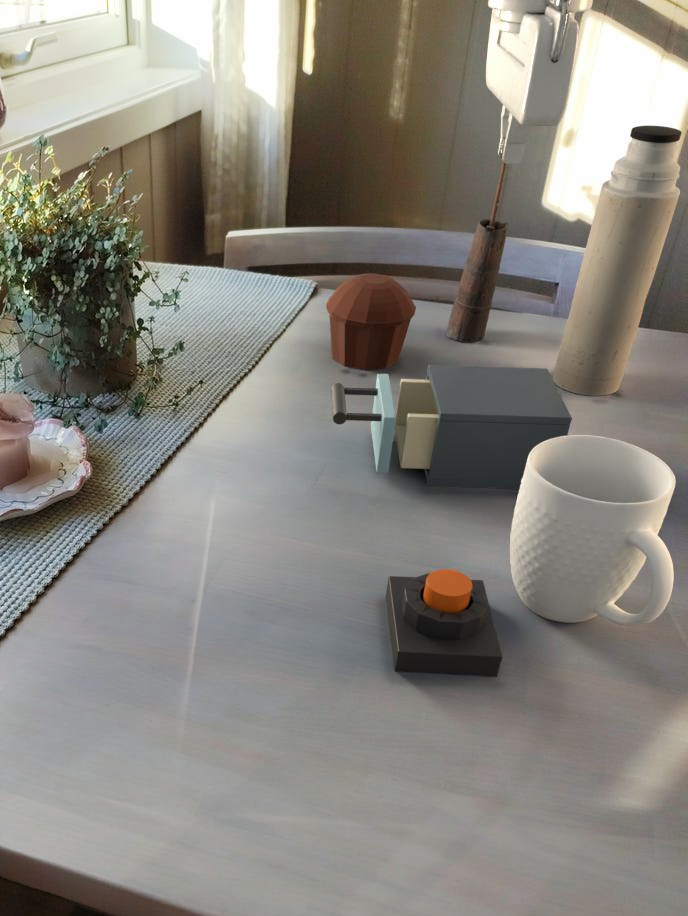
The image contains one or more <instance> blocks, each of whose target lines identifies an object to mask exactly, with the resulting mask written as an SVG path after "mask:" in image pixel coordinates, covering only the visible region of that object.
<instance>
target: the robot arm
mask: <svg viewBox="0 0 688 916" xmlns="http://www.w3.org/2000/svg"><path fill="white" fill-rule="evenodd" d="M593 4H594V0H488V2H487V6H488V8H489V9H492V10H491V17H490V23H489V25H490V26H489V34H488V44H487V53H486V63H485V64H486V65H485V84H486V87H487V89H488V90H489V91H490V92H491V93H492V94H493V96H495V97H496V99H498V101H499V102H500V103H501V104H502V108H501V114H500V141H499V146H498V150H497V153H498V154H497V155H498V156H499V157H500V159H501V160H502V163H503V162H504V163H506V165H507V164H508V165H518V164H520V163H522V160H523V157H524V151H525V149H526V148H525V147H526V144H527V141H528V140H529V139H528V138H529V137H530V135H531V132H532V129H533V127H557V126H558V125H559V124H560V123H561V122H562V119H563V118H564V115H565V112H566V110H567V107H568V106H567V105H568V100H569V96H570V89H571V85H572V80H573V75H574V70H575V69H574V68H575V64H576V63H575V62H576V58H577V51H578V46H579V35H580V27H579V22H578V21H577V20H576V19H575V16H576V13H582V12H587V11H589V10H591V9H592V7H593Z"/></svg>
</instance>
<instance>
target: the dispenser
mask: <svg viewBox="0 0 688 916" xmlns="http://www.w3.org/2000/svg"><path fill="white" fill-rule="evenodd" d="M425 375H426V376H425V380H429V381H430V384H431V388H432V392H433V396H434V400H435V404H436V408H437V412H438V416H439V418H438V423H437V429H436V435H435V440H434V446H433V452H432V457H431V463H430V469H424V473H425V478H426V483H427V486H429V487H430V486H431V487H452V488H453V487H455V488H456V487H457V488H478V489H479V488H482V489H508V490H509V489H510V490H520V485H521V480H522V478H523V475H524V471H525V467H526V463H527V459H528V456H529V454H530V452H531V450H532V449H533V448H534V447H535V446H537V445H538V444H540V443H542V442H544V441H546V440H549V439H552V438H556V437H561V436H568V434H569V431H570V427H571V423H572V419H573V417H572V414H571V413H570V410H569V409H568V407H567V405H566V403H565V400H564V399H563V397H562V394H561V393H560V391H559V389H558V386H557V384H556V383H555V382H554V381H553V376H551V373H550V371H549V369H548V368H541V367H514V366H513V367H511V366H510V367H509V366H477V365H476V366H475V365H443V364H438V365H437V364H428V365H427V370H426V374H425Z"/></svg>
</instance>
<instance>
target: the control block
mask: <svg viewBox="0 0 688 916" xmlns="http://www.w3.org/2000/svg"><path fill="white" fill-rule="evenodd" d="M430 573H431V572H428V573H425V574H422V575H419V576H399V575H389V576H388V579H387V585H386V592H385V601H386V610H387V618H388V625H389V633H390V634H389V635H390V645H391V652H392V661H393V668H394V669H393V671H394V672H396V673H414V674H415V673H417V674H434V675H435V674H436V675H454V676H475V677H477V676H478V677H495V678H496V677H498V674H499V671H500V668H501V664H502V661H503V653H502V650H501V646H500V641H499V638H498V633H497V631H496V626H495V622H494V618H493V614H492V611H491V607H490V603H489V599H488V595H487V591H486V586H485V583H484V580H483V579H470V580H471V582H472V585H473V587H472V591H471V596H470V600H469V604H468V606H467V608H466V609H465V610H463V611H461V612H458V613H447V612H440V611H438V610H435V609H432V608H430V607H429V606H427V604H426V603H425V602H424V599H423V594H424V589H425V584H426V579H427V576H428V575H429V574H430Z"/></svg>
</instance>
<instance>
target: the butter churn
mask: <svg viewBox="0 0 688 916" xmlns="http://www.w3.org/2000/svg"><path fill="white" fill-rule="evenodd" d="M506 169H507V164H506V163H504V162H503V161H502V165H501V170H500V173H499V180H498V184H497V187H496V192H495V198H494V203H493V208H492V212H491V217H490V219H487V218H486V219H485V218H484V219H480V220H478V223H477V226H476V229H475V232H474V235H473V238H472V241H471V245H470V248H469V250H468V251H469V252H468V255H467V257H466V261H465V263H464V268H463V271H462V274H461V277H460V281H459V286H458V290H457V293H456V295H455V298H454V301H453V305H452V309H451V312H450V316H449V320H448V323H447V327H446V333H445V334H446V336H447V337H448V338H450V339H452V340H454V341H458V342H463V343H467V342H473V341H481V340H483V339H484V338H485V336H486V331H487V327H488V321H489V316H490V311H491V309H492V304H493V299H494V295H495V290H496V286H497V282H498V277H499V272H500V269H501V262H502V258H503V253H504V249H505V245H506V239H507V235H506V234H507V230H508V225H509V224H508V222H505V221H498V220H496V217H497V213H498V208H499V205H498V203H500V197H501V194H502V188H503V184H504V177H505V172H506Z"/></svg>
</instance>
